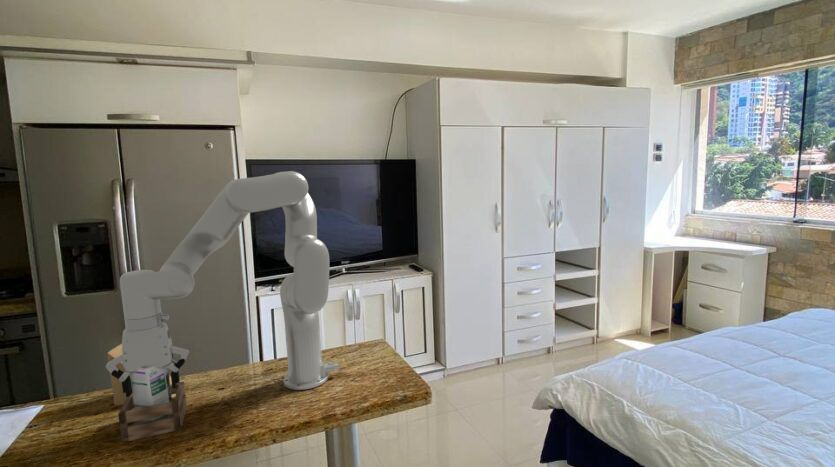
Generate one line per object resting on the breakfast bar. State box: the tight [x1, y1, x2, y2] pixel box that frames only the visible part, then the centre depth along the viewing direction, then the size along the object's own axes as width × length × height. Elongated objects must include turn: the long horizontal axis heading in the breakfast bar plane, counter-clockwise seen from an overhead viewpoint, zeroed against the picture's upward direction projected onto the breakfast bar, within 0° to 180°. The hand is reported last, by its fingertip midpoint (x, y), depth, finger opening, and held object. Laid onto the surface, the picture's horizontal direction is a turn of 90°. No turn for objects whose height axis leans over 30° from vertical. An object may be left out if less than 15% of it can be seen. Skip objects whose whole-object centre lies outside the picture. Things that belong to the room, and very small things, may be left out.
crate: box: [118, 381, 188, 443], centre depth 108 cm, size 12×12×7 cm
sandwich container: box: [107, 343, 176, 406], centre depth 122 cm, size 9×15×15 cm, turn 95°
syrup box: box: [130, 366, 173, 424], centre depth 107 cm, size 6×6×14 cm
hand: (152, 390), depth 107 cm, fingers open, 9 cm apart
